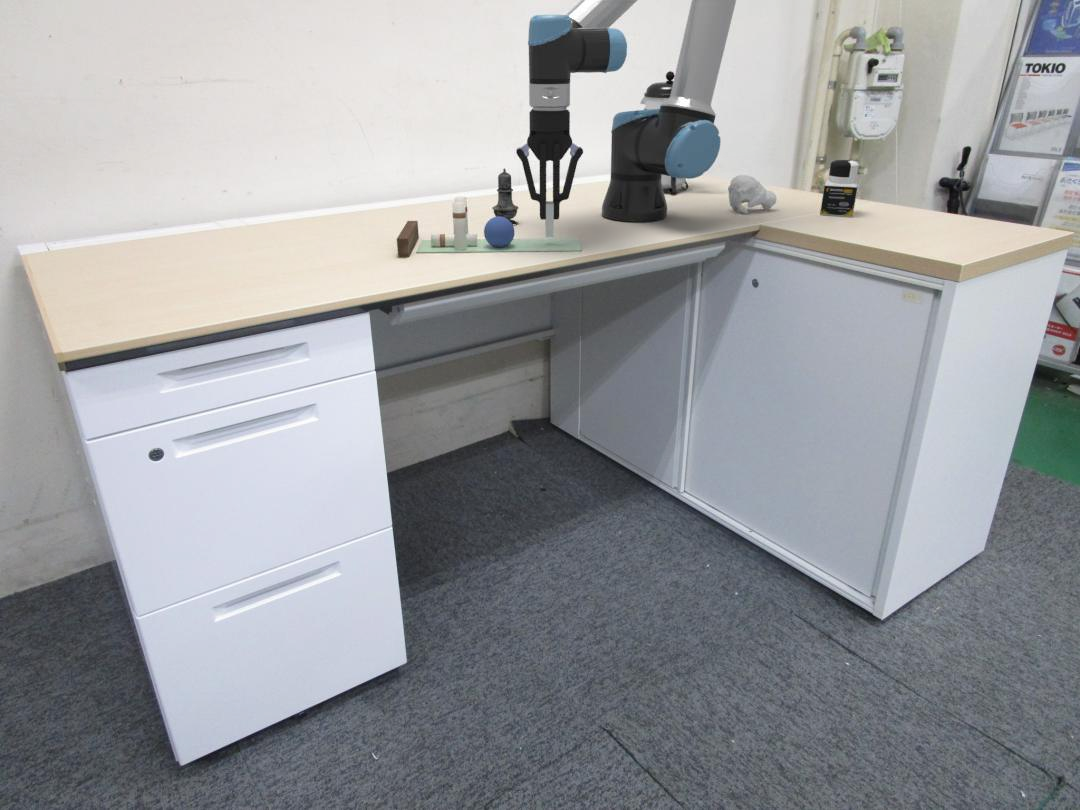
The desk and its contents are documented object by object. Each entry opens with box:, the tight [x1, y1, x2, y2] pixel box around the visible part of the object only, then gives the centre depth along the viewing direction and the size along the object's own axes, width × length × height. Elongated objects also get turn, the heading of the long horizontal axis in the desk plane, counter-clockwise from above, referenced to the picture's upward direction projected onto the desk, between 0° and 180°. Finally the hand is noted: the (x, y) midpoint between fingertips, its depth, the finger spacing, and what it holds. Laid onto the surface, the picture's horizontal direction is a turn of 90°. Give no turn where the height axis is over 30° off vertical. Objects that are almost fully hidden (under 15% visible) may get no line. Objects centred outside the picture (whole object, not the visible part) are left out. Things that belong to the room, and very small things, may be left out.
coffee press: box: [640, 70, 689, 196], centre depth 199 cm, size 17×16×30 cm
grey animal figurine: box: [727, 174, 777, 215], centre depth 178 cm, size 6×8×12 cm
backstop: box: [396, 220, 420, 258], centre depth 148 cm, size 2×16×4 cm, turn 2°
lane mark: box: [415, 237, 582, 254], centre depth 149 cm, size 32×10×1 cm, turn 92°
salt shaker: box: [491, 168, 519, 226], centre depth 165 cm, size 6×6×12 cm
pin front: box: [430, 233, 478, 247], centre depth 148 cm, size 2×2×9 cm
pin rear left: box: [451, 201, 467, 250], centre depth 144 cm, size 2×2×9 cm
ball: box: [483, 216, 515, 248], centre depth 147 cm, size 6×6×6 cm
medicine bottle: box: [819, 159, 860, 218], centre depth 174 cm, size 7×7×12 cm
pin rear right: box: [454, 196, 469, 234], centre depth 149 cm, size 2×2×9 cm
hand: (549, 235), depth 148 cm, fingers closed
